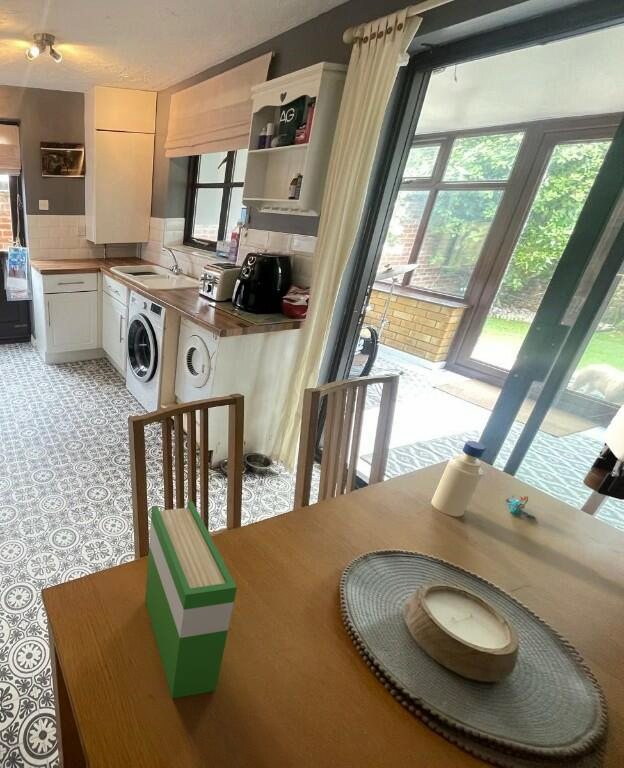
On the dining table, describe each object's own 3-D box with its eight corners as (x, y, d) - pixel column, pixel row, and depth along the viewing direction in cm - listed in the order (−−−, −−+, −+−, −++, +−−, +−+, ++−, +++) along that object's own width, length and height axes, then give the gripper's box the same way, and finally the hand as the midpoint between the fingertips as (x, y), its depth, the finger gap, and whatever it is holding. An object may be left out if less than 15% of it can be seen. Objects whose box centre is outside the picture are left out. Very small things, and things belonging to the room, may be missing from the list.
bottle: (463, 505, 108) (493, 443, 100) (463, 520, 103) (495, 456, 95) (431, 495, 111) (458, 434, 103) (430, 508, 106) (458, 446, 98)
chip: (619, 486, 73) (627, 474, 72) (629, 501, 69) (637, 489, 68) (579, 475, 76) (586, 464, 74) (587, 489, 72) (594, 478, 71)
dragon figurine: (483, 493, 111) (510, 502, 103) (509, 483, 111) (538, 492, 103) (491, 515, 111) (520, 526, 103) (517, 505, 111) (548, 515, 103)
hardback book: (145, 600, 81) (151, 505, 71) (180, 595, 82) (192, 501, 72) (171, 698, 65) (185, 594, 55) (215, 690, 66) (236, 587, 56)
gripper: (732, 424, 56) (655, 524, 64) (677, 383, 69) (618, 471, 77) (650, 408, 60) (587, 504, 68) (613, 372, 73) (563, 457, 81)
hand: (604, 486), depth 72 cm, fingers closed on chip, 5 cm apart
